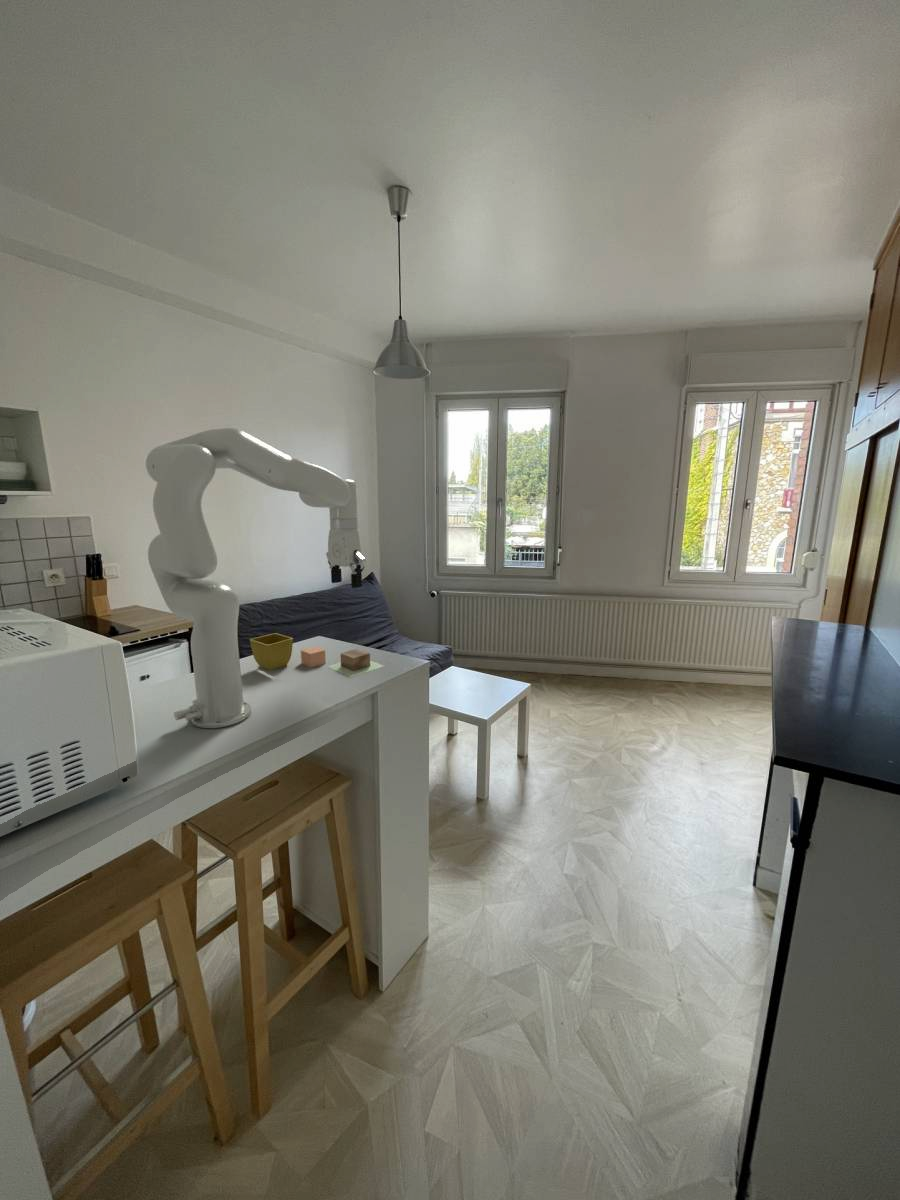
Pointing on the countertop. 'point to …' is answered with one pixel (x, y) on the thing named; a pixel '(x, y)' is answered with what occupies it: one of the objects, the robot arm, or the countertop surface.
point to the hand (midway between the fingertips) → (346, 584)
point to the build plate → (354, 673)
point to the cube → (313, 656)
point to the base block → (355, 659)
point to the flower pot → (272, 650)
